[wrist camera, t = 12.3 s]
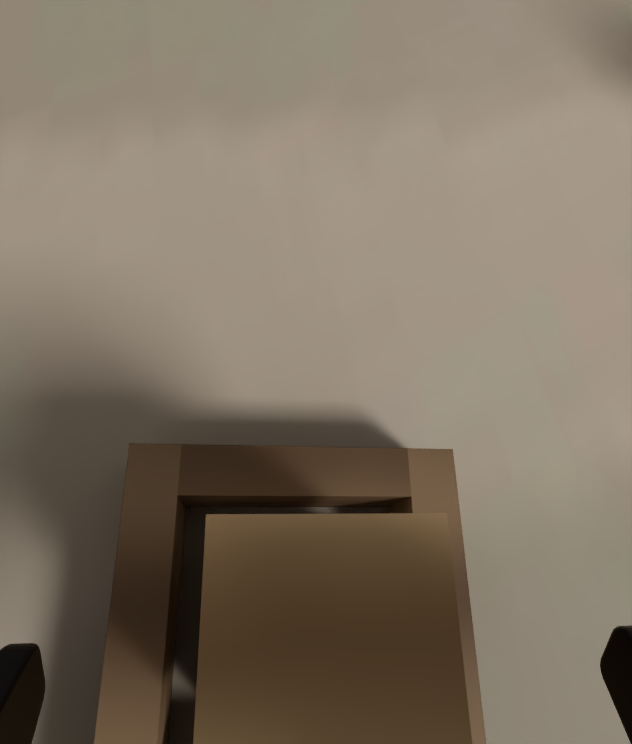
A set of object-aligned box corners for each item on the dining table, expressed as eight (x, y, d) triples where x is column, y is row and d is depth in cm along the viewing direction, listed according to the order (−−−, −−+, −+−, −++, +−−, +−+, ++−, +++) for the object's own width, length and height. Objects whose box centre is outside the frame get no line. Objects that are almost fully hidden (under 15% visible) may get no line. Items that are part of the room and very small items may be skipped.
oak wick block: (362, 696, 16) (479, 806, 8) (213, 704, 15) (188, 829, 8) (355, 543, 18) (446, 513, 10) (221, 544, 17) (206, 514, 9)
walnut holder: (458, 803, 15) (497, 842, 13) (104, 829, 14) (77, 879, 12) (426, 465, 19) (452, 449, 17) (143, 461, 18) (129, 443, 15)
